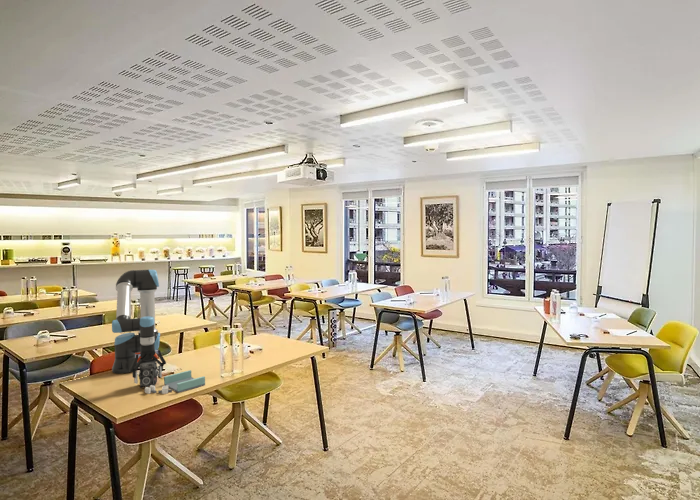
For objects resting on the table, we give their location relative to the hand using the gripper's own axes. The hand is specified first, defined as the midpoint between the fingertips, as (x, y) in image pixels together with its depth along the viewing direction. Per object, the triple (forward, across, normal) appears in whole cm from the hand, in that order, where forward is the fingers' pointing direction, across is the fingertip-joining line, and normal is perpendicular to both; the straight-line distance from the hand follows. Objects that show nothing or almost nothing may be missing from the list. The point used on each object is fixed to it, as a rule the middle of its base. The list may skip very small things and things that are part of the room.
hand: (148, 379), depth 245 cm
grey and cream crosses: (+4, 0, -12) cm, 13 cm away
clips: (+4, 0, -14) cm, 14 cm away
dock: (+4, +15, -14) cm, 21 cm away
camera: (+4, 0, 0) cm, 4 cm away
